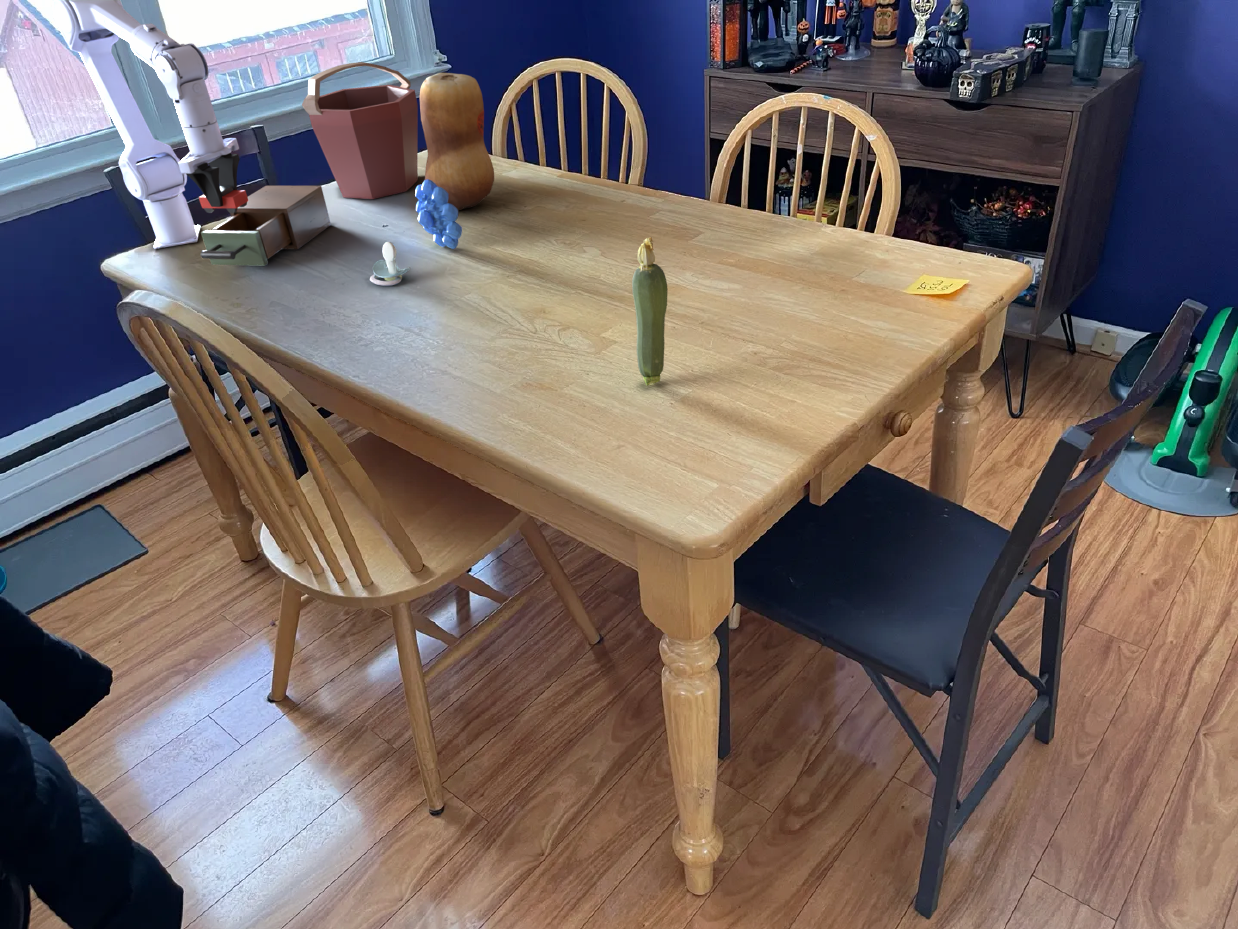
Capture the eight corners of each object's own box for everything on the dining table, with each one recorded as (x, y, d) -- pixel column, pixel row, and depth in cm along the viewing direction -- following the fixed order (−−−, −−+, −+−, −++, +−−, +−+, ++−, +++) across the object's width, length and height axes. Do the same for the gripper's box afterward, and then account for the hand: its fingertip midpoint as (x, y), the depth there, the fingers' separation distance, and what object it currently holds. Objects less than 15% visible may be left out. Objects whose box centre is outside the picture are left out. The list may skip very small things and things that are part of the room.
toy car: (203, 213, 165) (196, 192, 163) (216, 205, 169) (209, 184, 166) (237, 213, 164) (231, 192, 162) (250, 205, 167) (243, 184, 165)
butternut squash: (494, 216, 180) (473, 80, 166) (426, 220, 181) (400, 86, 167) (502, 193, 192) (483, 64, 177) (438, 197, 192) (415, 69, 178)
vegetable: (636, 375, 123) (626, 229, 112) (669, 371, 123) (662, 225, 112) (640, 391, 119) (630, 242, 108) (673, 387, 119) (667, 238, 108)
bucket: (335, 211, 189) (303, 83, 175) (308, 186, 206) (276, 66, 192) (446, 185, 199) (424, 61, 185) (412, 163, 215) (389, 47, 201)
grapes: (406, 247, 169) (392, 181, 163) (436, 235, 173) (424, 171, 166) (443, 261, 162) (430, 193, 155) (474, 249, 166) (462, 182, 159)
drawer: (249, 276, 160) (239, 243, 157) (195, 275, 163) (183, 242, 159) (298, 241, 174) (290, 209, 170) (247, 240, 176) (238, 209, 173)
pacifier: (390, 291, 153) (417, 277, 157) (381, 255, 149) (409, 242, 153) (362, 282, 157) (389, 269, 161) (353, 247, 153) (381, 235, 157)
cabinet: (297, 249, 172) (286, 208, 168) (241, 248, 175) (228, 208, 171) (331, 224, 183) (321, 185, 179) (277, 224, 186) (266, 185, 181)
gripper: (194, 134, 151) (220, 215, 159) (243, 112, 163) (265, 188, 170) (157, 135, 153) (185, 215, 160) (208, 112, 164) (232, 188, 172)
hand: (224, 201), depth 165 cm, fingers closed on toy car, 4 cm apart
